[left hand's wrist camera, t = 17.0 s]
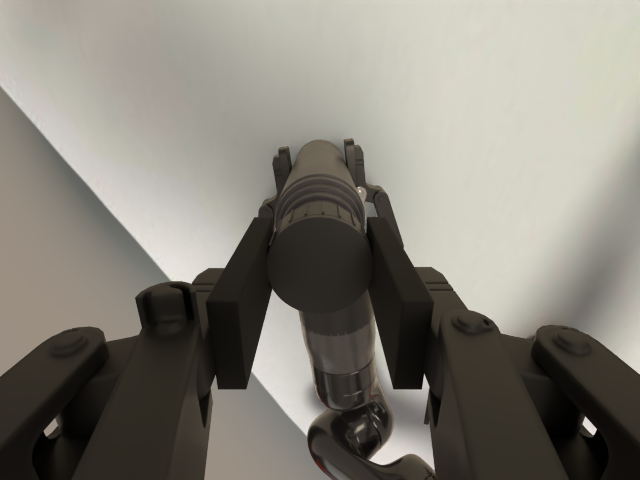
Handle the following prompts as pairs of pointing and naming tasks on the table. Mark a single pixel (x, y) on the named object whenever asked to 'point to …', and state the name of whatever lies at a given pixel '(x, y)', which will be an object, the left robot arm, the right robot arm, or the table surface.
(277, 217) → the bottle
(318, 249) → the cap
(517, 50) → the table surface
